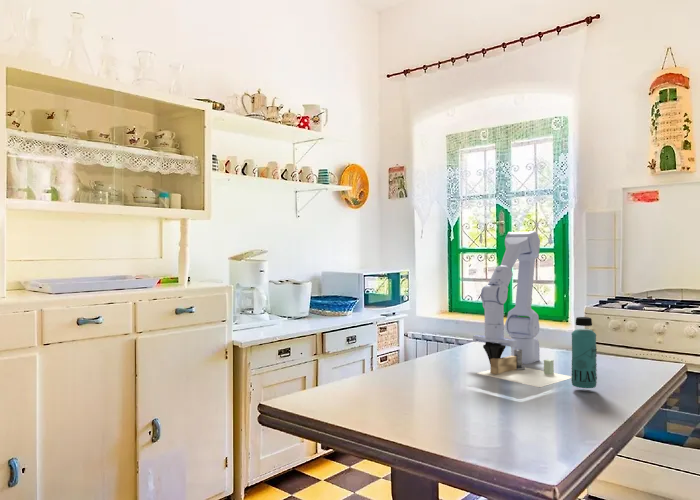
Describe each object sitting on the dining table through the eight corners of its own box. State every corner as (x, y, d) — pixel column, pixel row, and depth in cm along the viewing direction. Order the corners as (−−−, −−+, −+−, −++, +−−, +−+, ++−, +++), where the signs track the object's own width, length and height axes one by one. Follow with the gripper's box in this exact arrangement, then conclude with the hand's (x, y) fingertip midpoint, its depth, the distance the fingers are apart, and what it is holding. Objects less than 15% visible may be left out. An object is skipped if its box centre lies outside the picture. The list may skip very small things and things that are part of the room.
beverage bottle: (569, 392, 148) (569, 318, 147) (572, 386, 154) (572, 315, 153) (596, 395, 145) (595, 319, 144) (598, 389, 150) (597, 316, 150)
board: (511, 367, 179) (511, 364, 178) (575, 379, 161) (575, 377, 161) (475, 375, 167) (475, 373, 167) (540, 390, 150) (540, 387, 150)
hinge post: (516, 369, 175) (516, 348, 175) (527, 371, 172) (527, 350, 172) (509, 371, 173) (508, 349, 173) (519, 373, 170) (519, 351, 170)
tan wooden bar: (512, 368, 172) (512, 354, 172) (516, 369, 171) (516, 354, 171) (490, 373, 165) (490, 358, 165) (494, 374, 164) (494, 359, 164)
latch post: (547, 374, 167) (547, 359, 167) (553, 376, 166) (553, 360, 166) (543, 376, 166) (543, 360, 166) (549, 377, 165) (549, 361, 165)
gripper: (467, 322, 173) (467, 365, 173) (507, 327, 162) (507, 373, 162) (480, 320, 178) (480, 362, 178) (520, 324, 167) (520, 369, 167)
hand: (494, 367), depth 170 cm, fingers closed
